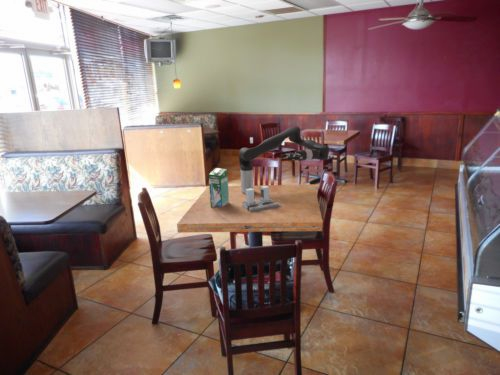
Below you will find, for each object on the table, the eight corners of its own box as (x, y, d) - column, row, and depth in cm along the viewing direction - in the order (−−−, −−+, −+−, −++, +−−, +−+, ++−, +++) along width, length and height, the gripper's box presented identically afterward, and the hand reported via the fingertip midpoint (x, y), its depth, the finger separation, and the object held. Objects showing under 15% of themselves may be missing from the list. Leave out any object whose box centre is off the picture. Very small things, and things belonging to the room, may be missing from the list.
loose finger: (260, 204, 237) (260, 186, 234) (266, 202, 239) (266, 185, 236) (263, 205, 234) (263, 188, 230) (269, 204, 236) (269, 187, 232)
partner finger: (246, 206, 233) (245, 189, 230) (252, 205, 235) (252, 187, 232) (248, 208, 230) (248, 190, 226) (255, 207, 231) (254, 189, 228)
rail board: (240, 207, 236) (240, 201, 235) (270, 202, 245) (270, 195, 244) (251, 215, 222) (251, 208, 221) (282, 209, 231) (282, 202, 230)
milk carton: (210, 207, 238) (208, 170, 231) (217, 203, 246) (215, 167, 239) (222, 209, 234) (220, 171, 227) (229, 204, 242) (227, 168, 235)
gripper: (298, 148, 253) (278, 150, 246) (310, 151, 241) (289, 153, 234) (298, 158, 255) (278, 161, 248) (310, 162, 243) (289, 164, 236)
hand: (284, 157), depth 241 cm, fingers open, 8 cm apart
